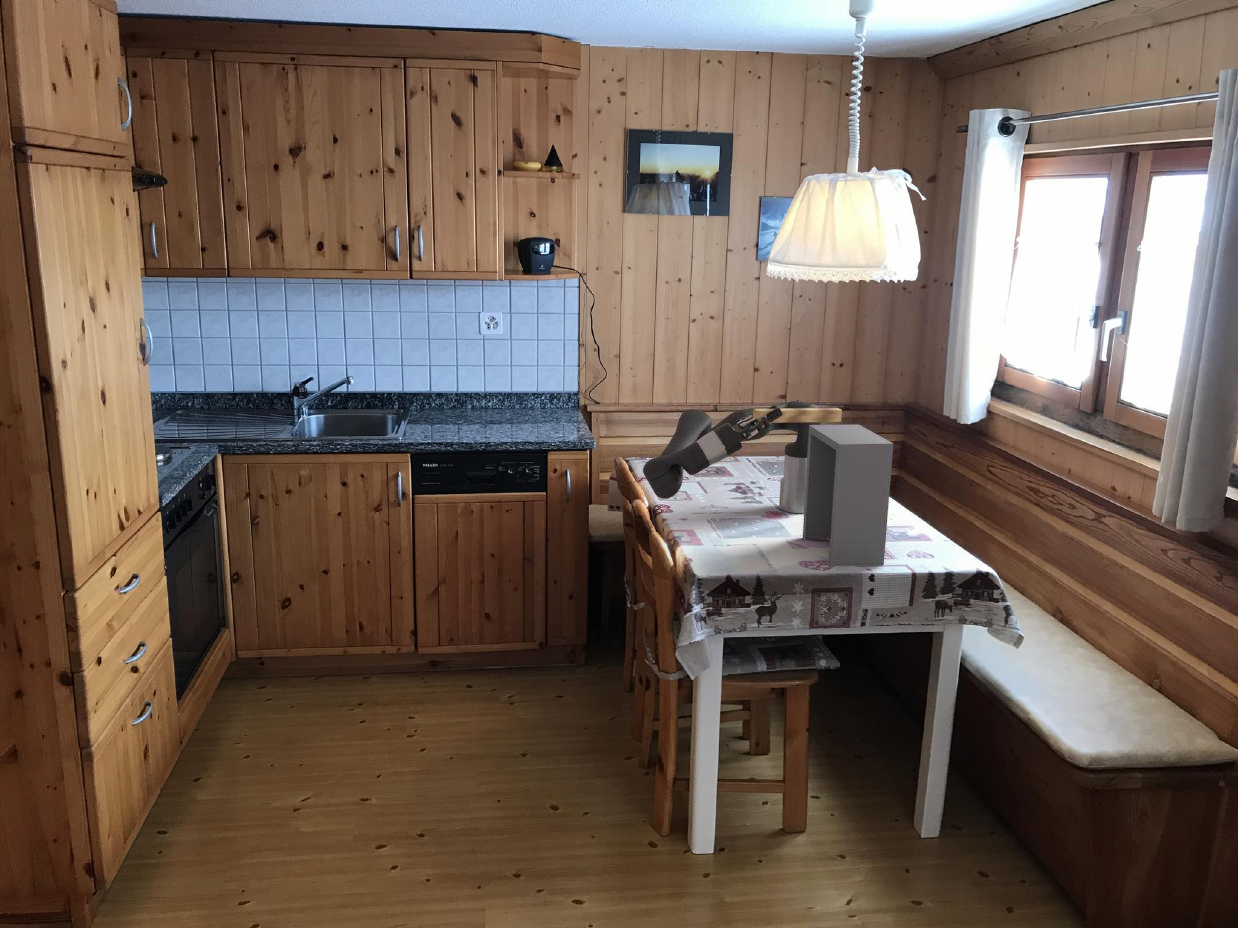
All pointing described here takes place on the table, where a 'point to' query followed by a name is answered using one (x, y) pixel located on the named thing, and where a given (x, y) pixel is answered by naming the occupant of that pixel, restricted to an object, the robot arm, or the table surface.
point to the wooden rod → (803, 414)
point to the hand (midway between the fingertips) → (778, 409)
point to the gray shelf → (848, 492)
